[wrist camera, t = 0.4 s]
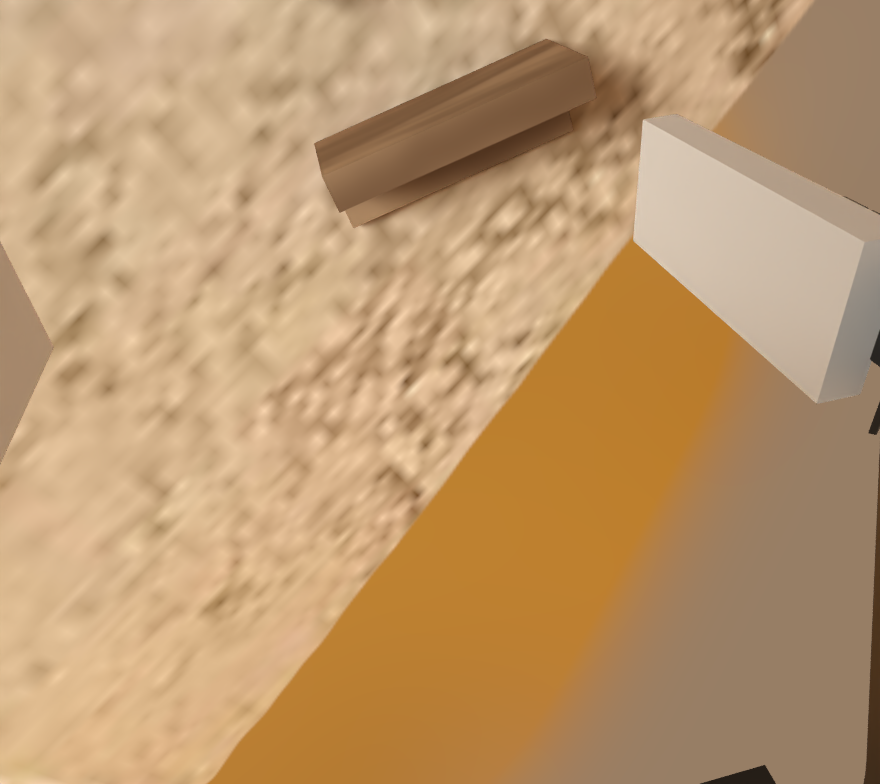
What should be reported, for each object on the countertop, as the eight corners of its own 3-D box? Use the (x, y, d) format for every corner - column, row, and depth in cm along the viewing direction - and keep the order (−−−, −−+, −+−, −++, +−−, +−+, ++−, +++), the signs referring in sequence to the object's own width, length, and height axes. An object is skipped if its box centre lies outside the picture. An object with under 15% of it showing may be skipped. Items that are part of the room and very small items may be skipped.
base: (314, 143, 38) (322, 176, 33) (546, 38, 38) (588, 57, 33) (351, 222, 41) (363, 262, 36) (567, 126, 41) (608, 154, 36)
